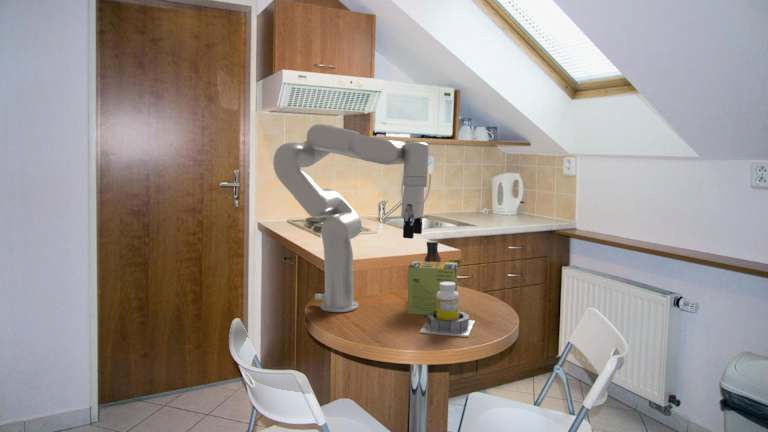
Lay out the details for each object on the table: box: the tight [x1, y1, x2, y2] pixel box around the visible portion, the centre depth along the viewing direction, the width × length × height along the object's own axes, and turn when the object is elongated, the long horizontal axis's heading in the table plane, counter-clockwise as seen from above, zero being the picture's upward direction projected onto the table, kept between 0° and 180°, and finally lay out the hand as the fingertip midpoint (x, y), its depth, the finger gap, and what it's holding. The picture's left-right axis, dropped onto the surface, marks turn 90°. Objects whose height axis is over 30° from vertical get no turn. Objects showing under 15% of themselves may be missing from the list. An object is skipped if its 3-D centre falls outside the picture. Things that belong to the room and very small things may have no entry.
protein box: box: [407, 261, 458, 316], centre depth 179 cm, size 10×15×16 cm
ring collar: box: [419, 310, 476, 338], centre depth 162 cm, size 14×14×4 cm
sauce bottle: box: [424, 240, 442, 262], centre depth 199 cm, size 7×6×20 cm
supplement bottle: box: [436, 282, 460, 321], centre depth 162 cm, size 7×7×13 cm
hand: (412, 235), depth 173 cm, fingers open, 9 cm apart
